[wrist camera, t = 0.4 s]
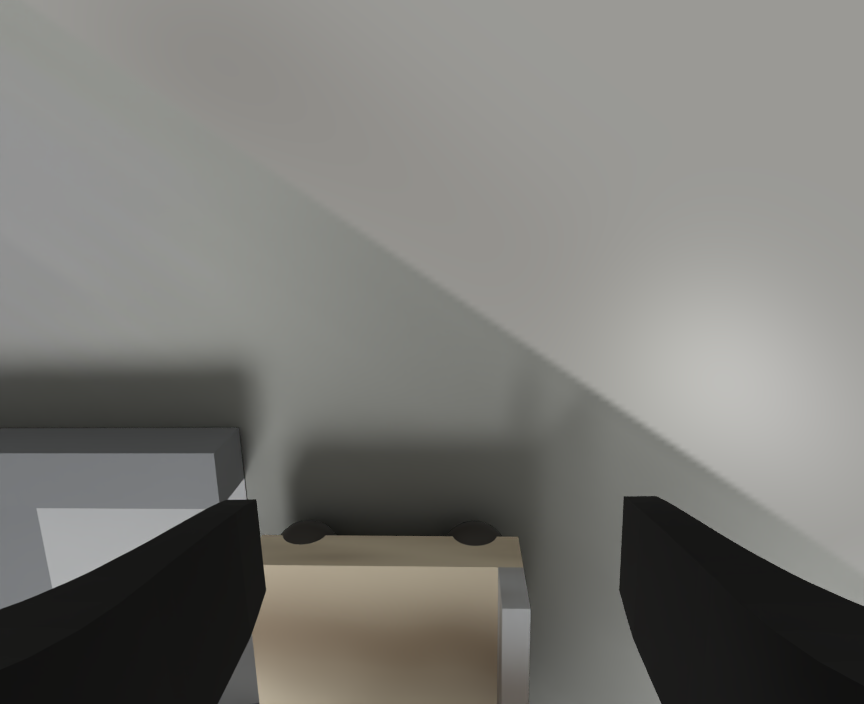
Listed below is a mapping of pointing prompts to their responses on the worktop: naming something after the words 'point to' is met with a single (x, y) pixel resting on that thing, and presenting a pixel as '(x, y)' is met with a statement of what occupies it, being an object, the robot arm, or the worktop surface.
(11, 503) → the loading dock
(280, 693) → the footed beige box
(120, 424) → the worktop surface
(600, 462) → the worktop surface
